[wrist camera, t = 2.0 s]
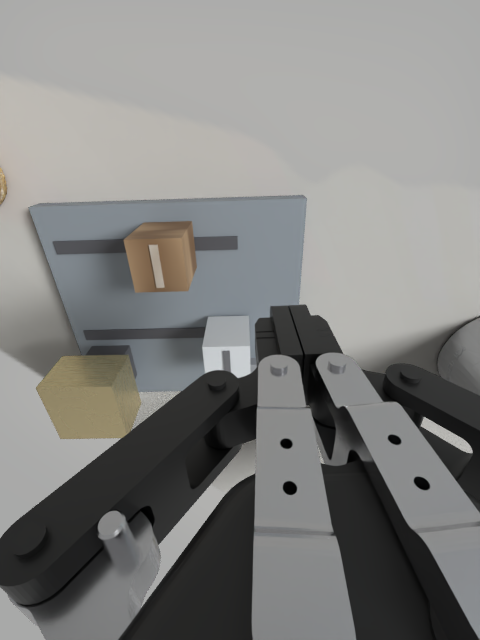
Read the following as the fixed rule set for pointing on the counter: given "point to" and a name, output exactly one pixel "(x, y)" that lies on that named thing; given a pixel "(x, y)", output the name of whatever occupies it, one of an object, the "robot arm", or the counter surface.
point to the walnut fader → (162, 256)
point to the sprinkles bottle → (2, 187)
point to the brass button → (91, 396)
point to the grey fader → (227, 345)
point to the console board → (171, 307)
